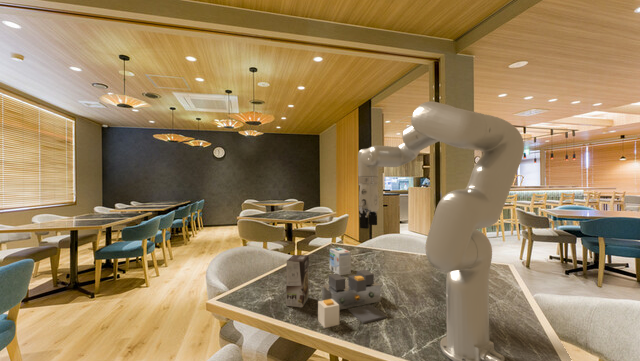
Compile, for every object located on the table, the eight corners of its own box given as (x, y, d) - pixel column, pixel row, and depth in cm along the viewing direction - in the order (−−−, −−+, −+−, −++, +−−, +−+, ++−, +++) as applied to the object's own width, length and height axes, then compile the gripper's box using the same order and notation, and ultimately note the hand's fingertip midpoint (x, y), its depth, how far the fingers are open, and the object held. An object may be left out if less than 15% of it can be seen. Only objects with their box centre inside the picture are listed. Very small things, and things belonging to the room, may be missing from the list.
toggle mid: (365, 290, 92) (365, 277, 92) (357, 292, 91) (357, 279, 91) (356, 284, 98) (356, 272, 98) (348, 286, 96) (348, 273, 96)
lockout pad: (386, 317, 86) (386, 315, 86) (363, 323, 82) (363, 321, 82) (371, 306, 94) (370, 304, 94) (348, 310, 91) (348, 309, 91)
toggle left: (345, 289, 94) (345, 278, 94) (336, 290, 92) (336, 280, 92) (337, 283, 99) (337, 273, 99) (328, 284, 98) (328, 274, 98)
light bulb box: (329, 269, 135) (329, 248, 136) (340, 267, 138) (340, 246, 139) (339, 276, 126) (339, 253, 126) (351, 273, 129) (351, 251, 129)
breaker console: (381, 301, 98) (381, 285, 98) (332, 312, 90) (332, 294, 90) (368, 293, 106) (368, 277, 106) (322, 301, 98) (322, 285, 98)
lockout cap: (339, 324, 82) (339, 303, 82) (324, 328, 80) (324, 306, 80) (332, 317, 86) (332, 296, 87) (318, 320, 85) (318, 299, 85)
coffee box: (303, 307, 93) (303, 261, 93) (285, 306, 94) (285, 260, 95) (309, 297, 102) (309, 254, 102) (293, 295, 103) (293, 254, 104)
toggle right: (373, 284, 98) (373, 274, 98) (365, 285, 97) (365, 275, 97) (364, 278, 104) (364, 269, 104) (356, 280, 102) (356, 270, 103)
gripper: (370, 180, 92) (370, 230, 91) (384, 181, 107) (385, 224, 106) (350, 181, 96) (350, 229, 95) (366, 182, 111) (367, 223, 110)
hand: (368, 226), depth 101 cm, fingers open, 9 cm apart
